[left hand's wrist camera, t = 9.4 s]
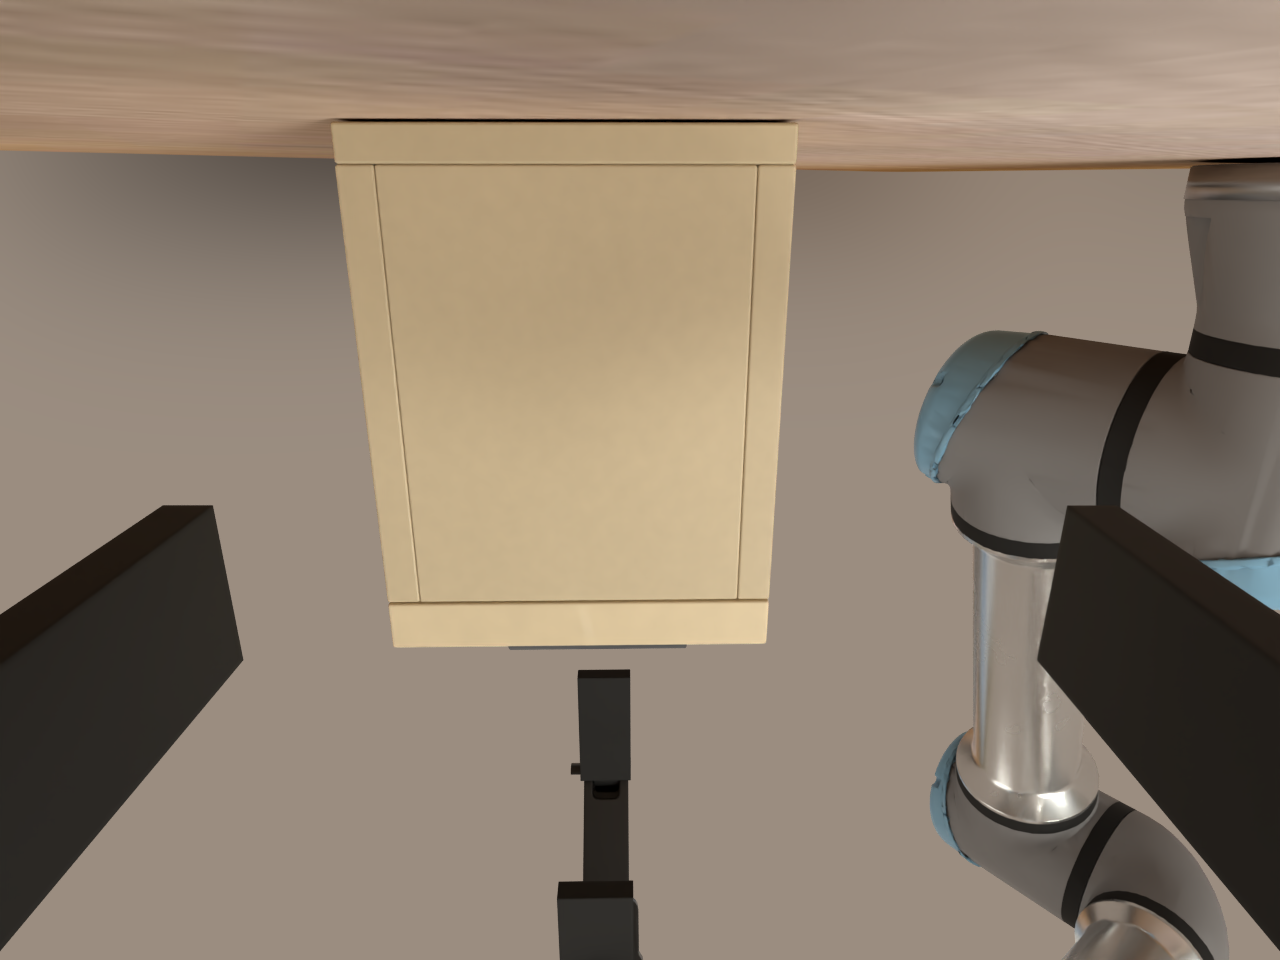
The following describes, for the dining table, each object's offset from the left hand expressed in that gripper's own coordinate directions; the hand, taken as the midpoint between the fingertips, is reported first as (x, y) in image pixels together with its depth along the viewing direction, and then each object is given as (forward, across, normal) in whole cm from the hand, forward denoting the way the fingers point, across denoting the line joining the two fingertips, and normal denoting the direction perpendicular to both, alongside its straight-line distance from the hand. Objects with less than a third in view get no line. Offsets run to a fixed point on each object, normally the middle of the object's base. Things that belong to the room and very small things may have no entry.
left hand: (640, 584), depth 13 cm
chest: (+13, +2, -7) cm, 15 cm away
